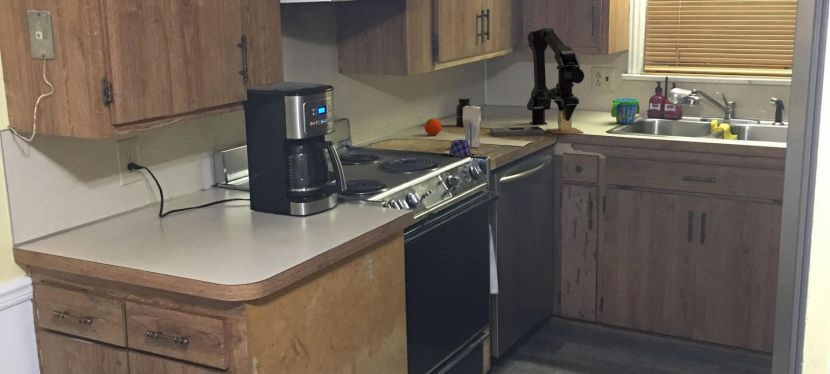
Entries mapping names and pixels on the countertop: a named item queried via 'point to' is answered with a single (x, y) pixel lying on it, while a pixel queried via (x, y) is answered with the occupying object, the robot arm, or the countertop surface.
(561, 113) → the wood grain block
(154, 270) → the countertop surface
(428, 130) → the clementine
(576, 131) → the copper pad
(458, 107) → the supplement bottle
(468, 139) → the beer glass
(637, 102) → the snack cup
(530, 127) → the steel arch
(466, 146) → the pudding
